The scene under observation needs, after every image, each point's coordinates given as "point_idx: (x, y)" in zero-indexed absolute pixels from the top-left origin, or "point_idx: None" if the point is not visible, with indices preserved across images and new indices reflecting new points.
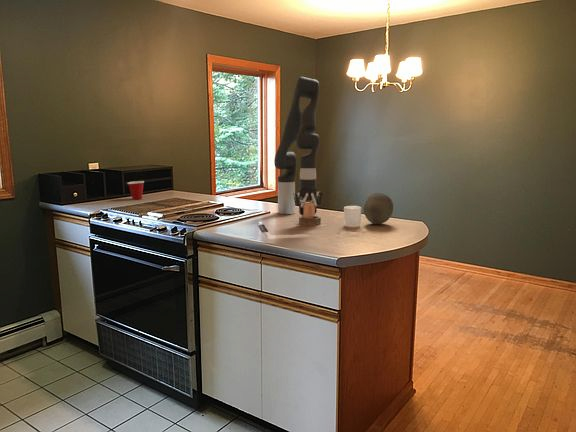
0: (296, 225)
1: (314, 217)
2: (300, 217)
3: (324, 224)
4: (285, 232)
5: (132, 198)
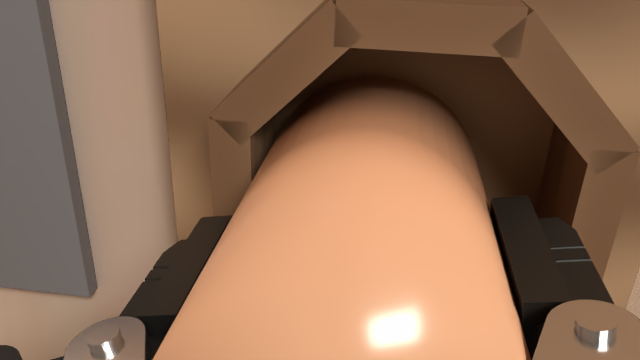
0: (180, 227)
1: (547, 110)
2: (229, 176)
3: (610, 271)
4: (58, 340)
5: None
